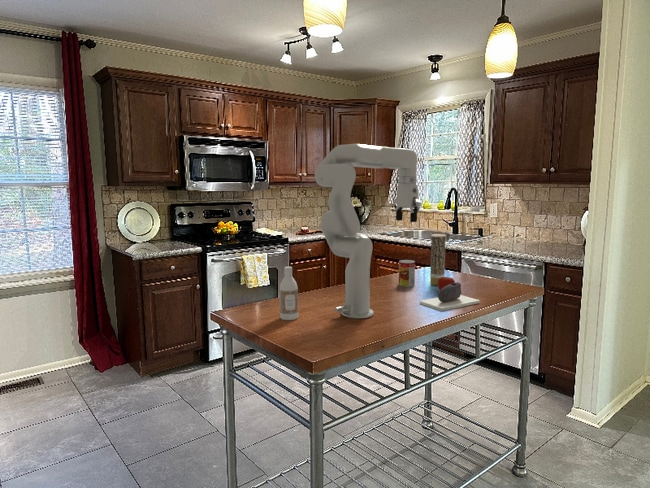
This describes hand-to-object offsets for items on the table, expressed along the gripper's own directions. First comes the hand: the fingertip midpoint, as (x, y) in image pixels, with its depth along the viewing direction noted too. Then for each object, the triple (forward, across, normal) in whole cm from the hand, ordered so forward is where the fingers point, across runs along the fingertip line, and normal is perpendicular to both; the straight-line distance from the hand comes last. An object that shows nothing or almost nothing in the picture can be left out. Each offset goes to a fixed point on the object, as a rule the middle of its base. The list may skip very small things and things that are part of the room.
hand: (406, 221), depth 198 cm
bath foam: (+36, +1, +55) cm, 66 cm away
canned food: (+34, +21, -18) cm, 44 cm away
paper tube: (+34, +13, -31) cm, 48 cm away
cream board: (+34, -16, -12) cm, 40 cm away
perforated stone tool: (+33, -15, -12) cm, 39 cm away
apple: (+34, -1, -24) cm, 42 cm away
